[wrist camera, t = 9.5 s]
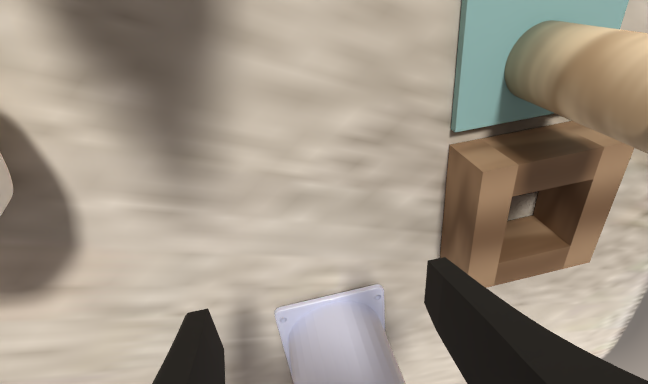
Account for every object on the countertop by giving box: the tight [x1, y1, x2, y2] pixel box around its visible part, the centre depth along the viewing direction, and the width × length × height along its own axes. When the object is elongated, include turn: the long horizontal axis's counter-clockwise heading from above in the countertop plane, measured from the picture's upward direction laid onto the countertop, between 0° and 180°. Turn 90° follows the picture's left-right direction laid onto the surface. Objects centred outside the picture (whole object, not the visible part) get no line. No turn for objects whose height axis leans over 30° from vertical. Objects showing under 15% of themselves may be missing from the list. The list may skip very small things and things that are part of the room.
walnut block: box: [440, 121, 634, 288], centre depth 23 cm, size 9×9×4 cm
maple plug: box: [505, 20, 648, 153], centre depth 15 cm, size 4×4×9 cm
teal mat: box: [451, 0, 629, 132], centre depth 19 cm, size 7×9×1 cm
